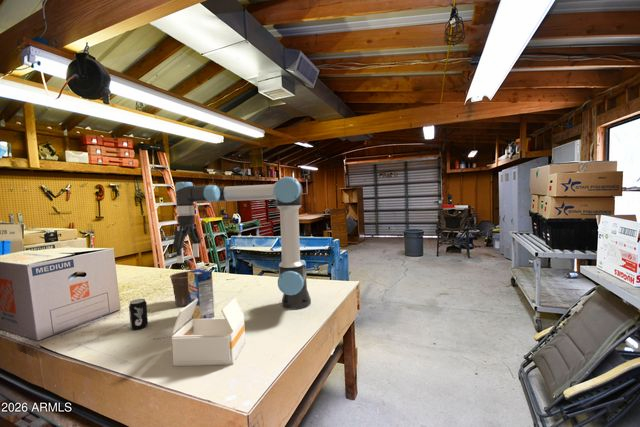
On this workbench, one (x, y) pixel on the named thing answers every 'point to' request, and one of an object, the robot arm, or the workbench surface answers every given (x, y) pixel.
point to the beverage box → (201, 293)
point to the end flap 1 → (185, 315)
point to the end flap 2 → (233, 314)
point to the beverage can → (138, 314)
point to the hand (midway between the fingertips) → (188, 259)
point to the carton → (207, 343)
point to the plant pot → (180, 288)
